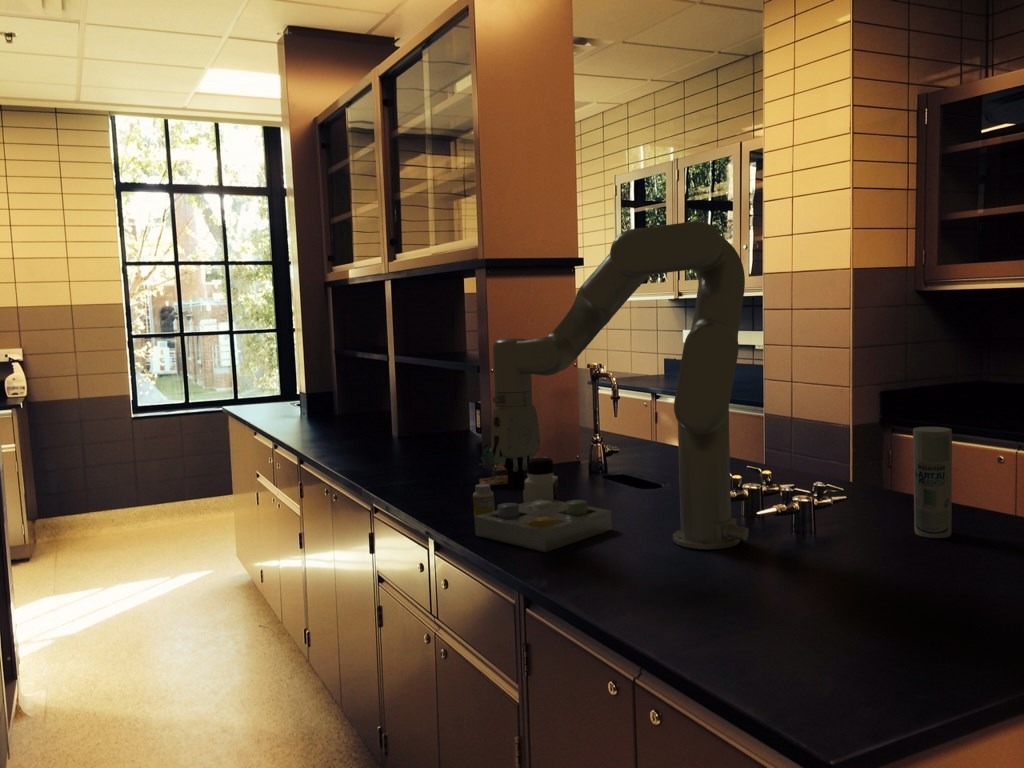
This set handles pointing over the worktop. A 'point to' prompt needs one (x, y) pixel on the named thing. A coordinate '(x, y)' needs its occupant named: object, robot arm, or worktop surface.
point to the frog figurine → (496, 479)
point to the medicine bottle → (540, 480)
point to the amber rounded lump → (543, 521)
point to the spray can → (932, 481)
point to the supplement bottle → (483, 500)
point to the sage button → (576, 508)
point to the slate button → (508, 511)
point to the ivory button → (542, 505)
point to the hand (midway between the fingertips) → (516, 489)
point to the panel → (543, 538)
